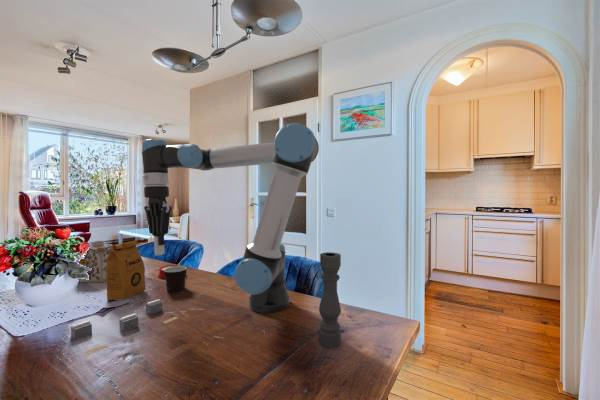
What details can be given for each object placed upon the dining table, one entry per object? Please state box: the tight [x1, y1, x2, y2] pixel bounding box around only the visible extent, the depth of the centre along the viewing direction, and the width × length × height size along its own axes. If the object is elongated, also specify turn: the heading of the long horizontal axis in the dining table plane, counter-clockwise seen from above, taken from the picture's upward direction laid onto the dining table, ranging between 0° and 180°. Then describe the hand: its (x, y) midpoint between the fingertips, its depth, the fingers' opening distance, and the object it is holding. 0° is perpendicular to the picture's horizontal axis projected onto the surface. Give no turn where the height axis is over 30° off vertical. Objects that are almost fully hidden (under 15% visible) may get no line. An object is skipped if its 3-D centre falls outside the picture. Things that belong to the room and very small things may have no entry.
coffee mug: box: [164, 265, 188, 293], centre depth 118 cm, size 12×9×10 cm
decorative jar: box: [77, 240, 114, 283], centre depth 134 cm, size 12×12×18 cm
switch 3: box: [145, 298, 163, 316], centre depth 95 cm, size 3×4×4 cm
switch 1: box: [70, 320, 93, 341], centre depth 80 cm, size 3×4×4 cm
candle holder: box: [318, 251, 342, 349], centre depth 79 cm, size 6×6×25 cm
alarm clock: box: [155, 264, 179, 279], centre depth 139 cm, size 10×6×15 cm
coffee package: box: [105, 239, 147, 301], centre depth 112 cm, size 10×12×22 cm
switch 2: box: [118, 313, 139, 333], centre depth 84 cm, size 3×4×4 cm
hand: (159, 254), depth 97 cm, fingers closed
